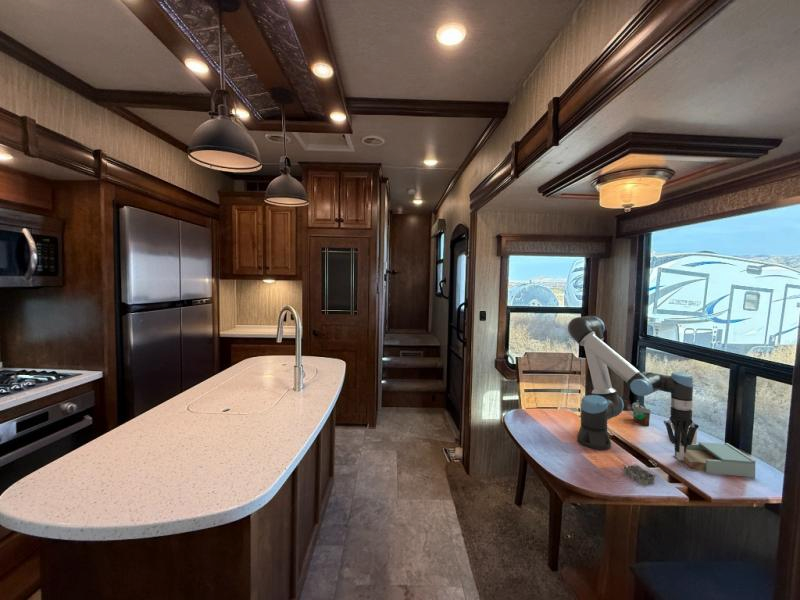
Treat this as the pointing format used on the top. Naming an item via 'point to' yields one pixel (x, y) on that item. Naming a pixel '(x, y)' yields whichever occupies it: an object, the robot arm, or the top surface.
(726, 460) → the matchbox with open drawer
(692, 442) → the teacup with lid
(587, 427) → the robot arm
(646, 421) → the food container
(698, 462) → the panel
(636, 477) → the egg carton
